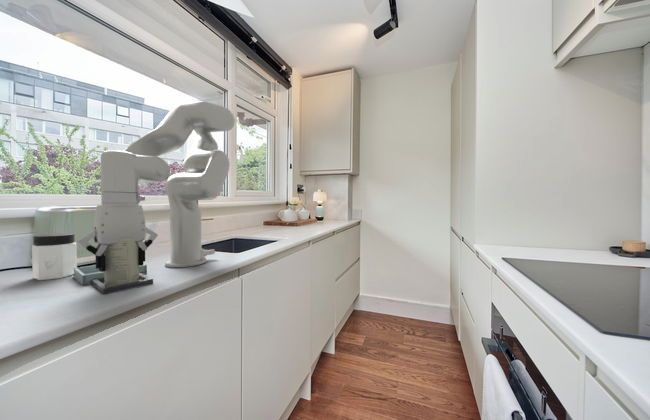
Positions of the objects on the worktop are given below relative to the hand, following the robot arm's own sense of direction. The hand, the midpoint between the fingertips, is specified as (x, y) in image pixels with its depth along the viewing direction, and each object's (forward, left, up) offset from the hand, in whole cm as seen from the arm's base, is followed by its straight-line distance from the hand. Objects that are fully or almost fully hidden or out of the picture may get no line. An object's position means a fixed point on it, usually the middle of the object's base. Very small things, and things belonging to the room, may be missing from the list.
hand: (121, 267), depth 65 cm
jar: (+9, -24, -5) cm, 26 cm away
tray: (-1, -13, -4) cm, 13 cm away
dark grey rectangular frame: (0, 0, -4) cm, 4 cm away
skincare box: (0, 0, -5) cm, 5 cm away
